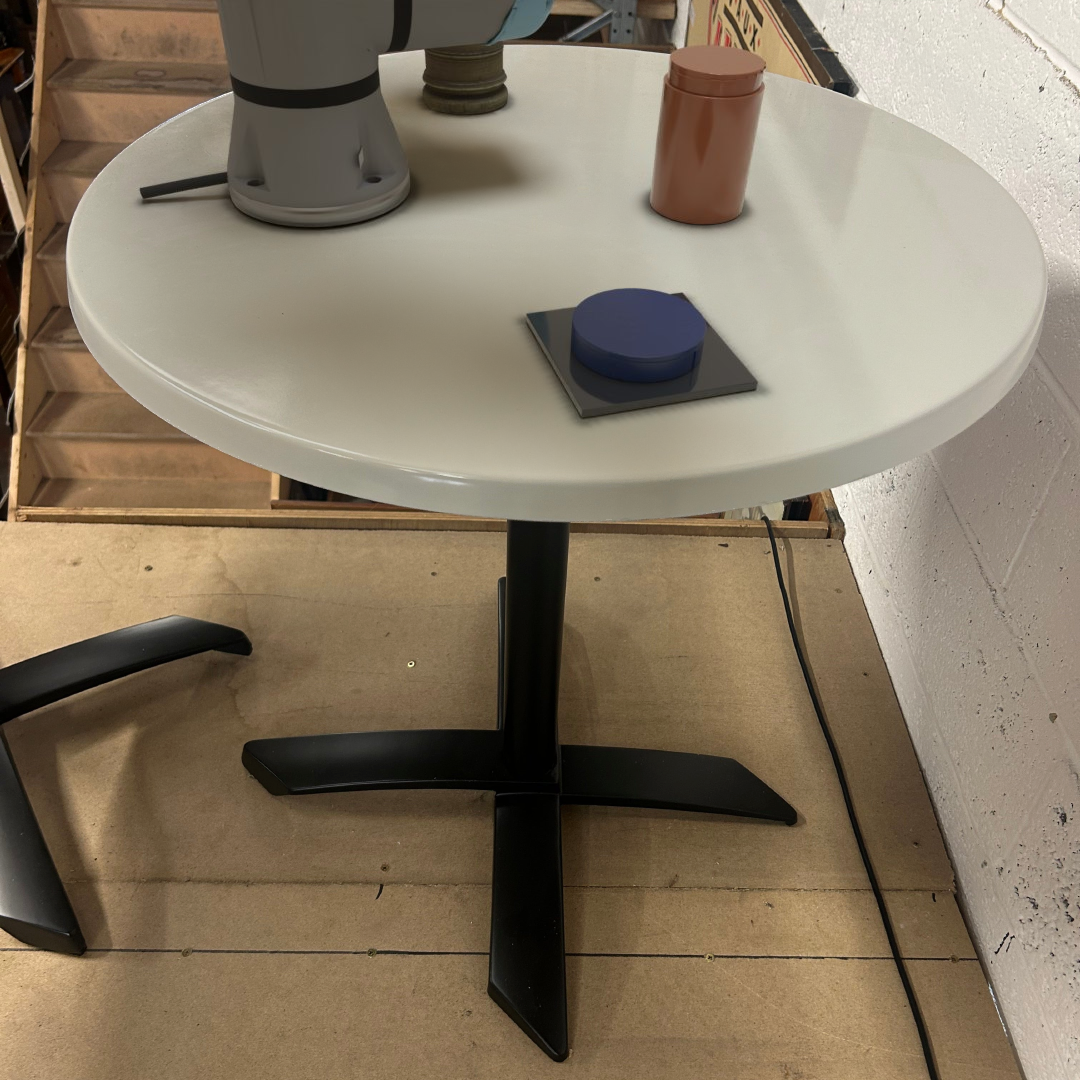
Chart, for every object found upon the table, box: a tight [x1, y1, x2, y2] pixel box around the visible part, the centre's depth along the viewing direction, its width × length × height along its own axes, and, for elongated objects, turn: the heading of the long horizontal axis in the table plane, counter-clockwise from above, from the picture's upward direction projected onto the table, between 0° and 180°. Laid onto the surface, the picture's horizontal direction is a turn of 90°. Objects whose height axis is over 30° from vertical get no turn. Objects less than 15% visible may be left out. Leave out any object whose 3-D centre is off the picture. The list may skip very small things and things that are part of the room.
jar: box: [649, 44, 767, 225], centre depth 75 cm, size 8×8×12 cm
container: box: [421, 41, 509, 115], centre depth 90 cm, size 9×9×18 cm
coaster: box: [525, 291, 759, 419], centre depth 62 cm, size 12×12×1 cm
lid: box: [571, 287, 706, 383], centre depth 61 cm, size 9×9×2 cm
